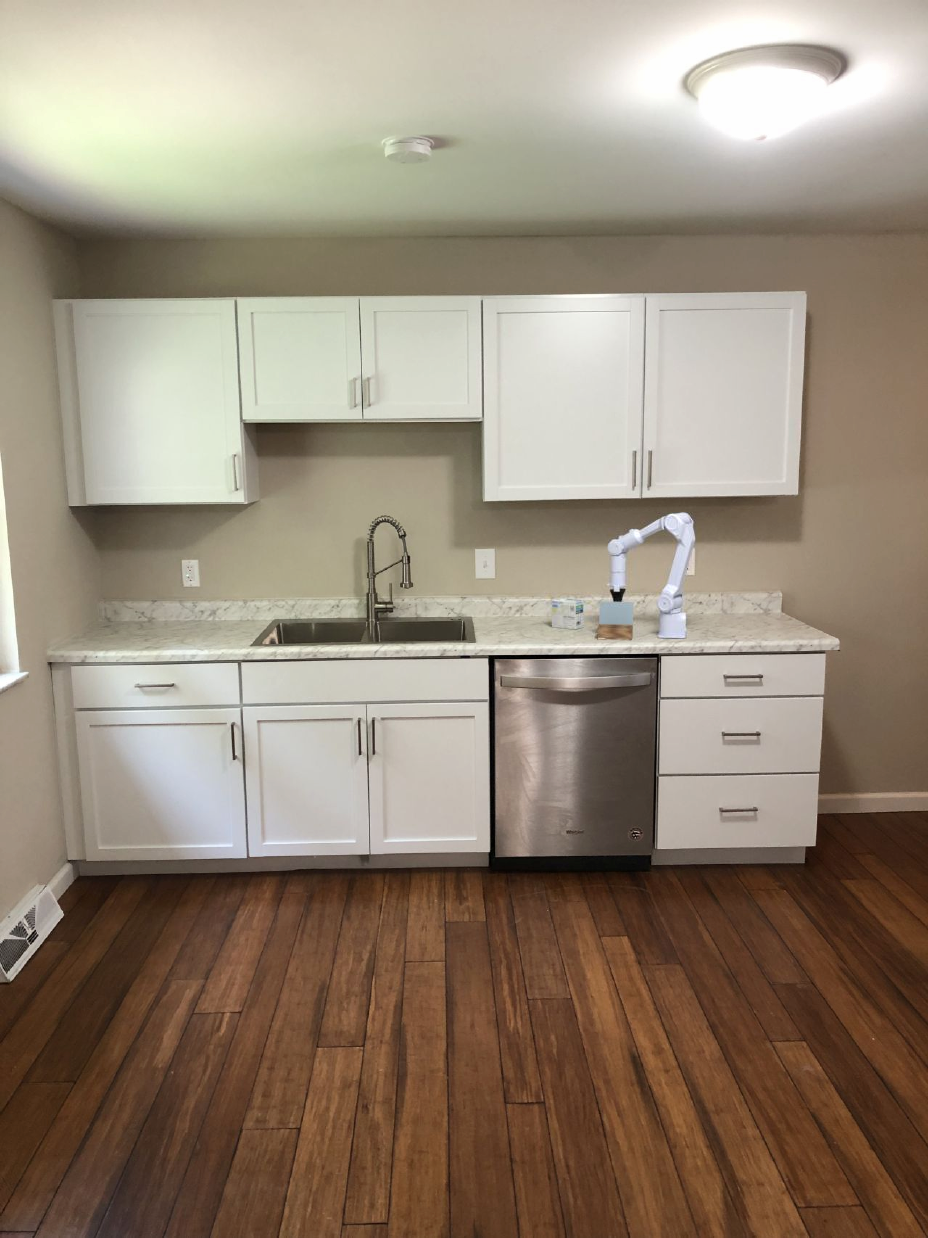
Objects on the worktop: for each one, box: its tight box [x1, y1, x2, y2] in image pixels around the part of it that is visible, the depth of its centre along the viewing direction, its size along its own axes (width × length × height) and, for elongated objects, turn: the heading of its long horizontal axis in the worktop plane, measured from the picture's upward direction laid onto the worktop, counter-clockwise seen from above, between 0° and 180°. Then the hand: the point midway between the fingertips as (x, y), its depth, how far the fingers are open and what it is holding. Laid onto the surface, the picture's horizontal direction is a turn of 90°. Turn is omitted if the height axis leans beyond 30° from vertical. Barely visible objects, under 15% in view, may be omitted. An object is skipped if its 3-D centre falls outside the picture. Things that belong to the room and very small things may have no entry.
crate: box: [596, 623, 634, 641], centre depth 334 cm, size 12×8×4 cm, turn 78°
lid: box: [598, 600, 634, 625], centre depth 338 cm, size 12×8×1 cm
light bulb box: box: [551, 597, 585, 630], centre depth 356 cm, size 11×7×11 cm, turn 56°
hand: (617, 608), depth 346 cm, fingers closed
